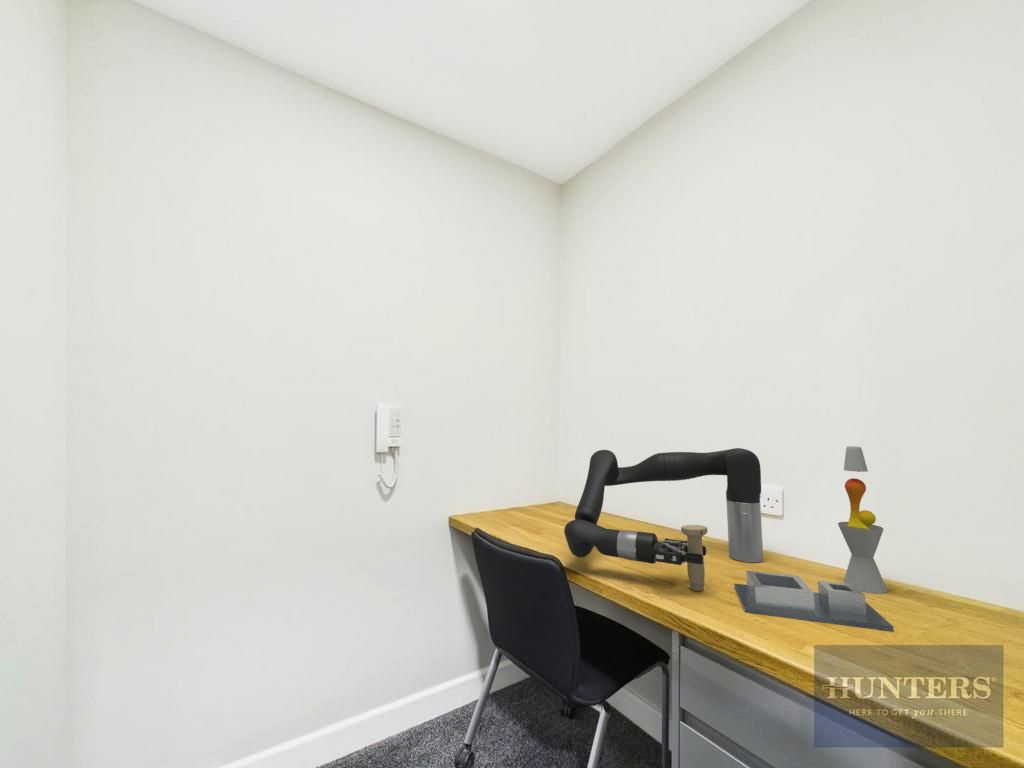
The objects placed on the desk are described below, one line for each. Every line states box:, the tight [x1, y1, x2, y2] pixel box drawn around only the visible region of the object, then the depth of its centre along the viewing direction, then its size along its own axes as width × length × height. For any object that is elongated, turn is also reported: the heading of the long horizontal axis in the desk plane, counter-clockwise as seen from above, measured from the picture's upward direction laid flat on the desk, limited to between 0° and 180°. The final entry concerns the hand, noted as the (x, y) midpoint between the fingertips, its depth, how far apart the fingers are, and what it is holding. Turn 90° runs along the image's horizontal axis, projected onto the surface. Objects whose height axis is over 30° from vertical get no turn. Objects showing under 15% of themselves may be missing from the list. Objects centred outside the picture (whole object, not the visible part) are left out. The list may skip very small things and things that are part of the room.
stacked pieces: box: [837, 445, 889, 595], centre depth 109 cm, size 9×9×35 cm
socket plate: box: [733, 570, 894, 632], centre depth 95 cm, size 15×26×5 cm, turn 70°
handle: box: [680, 524, 708, 592], centre depth 106 cm, size 5×6×15 cm
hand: (704, 555), depth 105 cm, fingers open, 7 cm apart
